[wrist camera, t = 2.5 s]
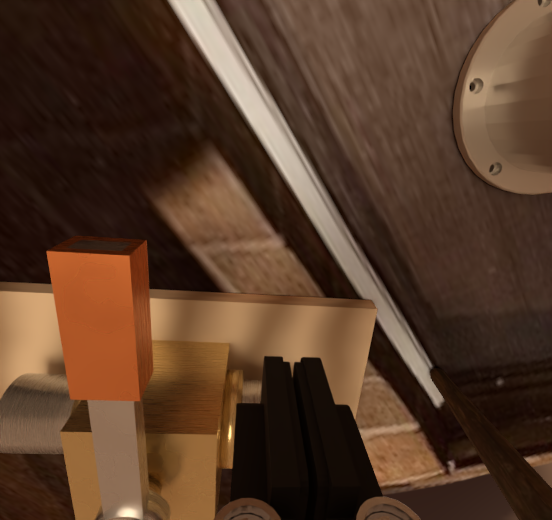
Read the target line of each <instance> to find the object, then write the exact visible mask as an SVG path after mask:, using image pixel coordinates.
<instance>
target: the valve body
mask: <svg viewBox="0 0 552 520" xmlns="http://www.w3.org/2000/svg"><path fill="white" fill-rule="evenodd" d="M152 351H153V370H154V371H153V374H152V376H151V378H150V380H149V382H148V385H147V387H146V389H145V391H144V394H143V409H144V424H145V438H146V453H147V467H148V482H149V490H151V491H153V492H155V493H157V494H159V495H160V496H162V497H163V498H164V499H165V500H166V501H167V502H168V504H169V506H170V510H171V515H170V520H214V518H215V517H216V515H217V507H218V498H219V489H220V480H221V471H222V468H226V469H232V467H233V451H234V435H235V419H236V404H237V403H260V400H261V388H262V380H243V379H244V370H235V369H229V351H230V343H218V342H192V341H167V340H152ZM0 452H1V453H32V454H64V457H65V463H66V468H67V474H68V480H69V485H70V491H71V496H72V502H73V507H74V513H75V518H76V520H95V518H96V515H97V513H98V511H99V508H100V506H101V504H102V502H101V495H100V488H99V481H98V473H97V466H96V459H95V452H94V445H93V437H92V430H91V423H90V416H89V409H88V402H87V400H70V394H69V388H68V382H67V375H66V374H45V373H26V374H23V375H21V376H19V377H18V378H17V379H15V380H14V381H13V382H12V383H11V384H10V386H9V387H8V388H7V389H6V391H5V392H4V394H3V396H2V398H1V399H0Z"/></svg>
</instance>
